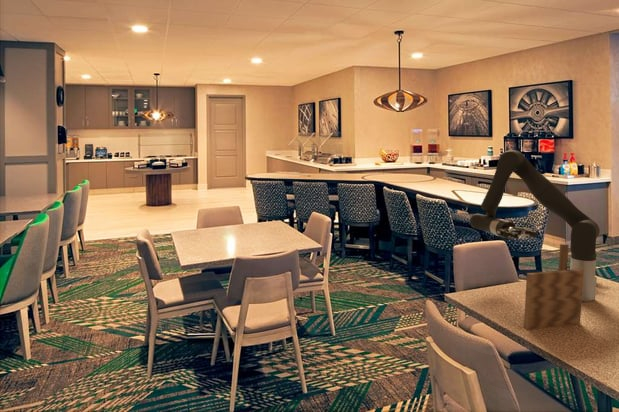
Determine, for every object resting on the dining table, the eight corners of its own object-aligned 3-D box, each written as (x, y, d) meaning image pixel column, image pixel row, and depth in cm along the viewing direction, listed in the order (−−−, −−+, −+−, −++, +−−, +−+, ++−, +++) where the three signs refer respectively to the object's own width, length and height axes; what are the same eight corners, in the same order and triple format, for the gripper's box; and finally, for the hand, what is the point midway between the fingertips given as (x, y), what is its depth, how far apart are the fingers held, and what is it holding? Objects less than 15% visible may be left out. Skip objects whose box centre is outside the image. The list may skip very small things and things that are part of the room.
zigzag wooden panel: (566, 316, 188) (569, 265, 185) (580, 323, 181) (583, 270, 179) (515, 322, 183) (517, 269, 180) (527, 329, 176) (530, 274, 174)
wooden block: (582, 285, 226) (585, 246, 224) (556, 282, 232) (559, 244, 229) (583, 283, 229) (586, 245, 227) (557, 280, 235) (560, 242, 232)
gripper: (488, 220, 214) (511, 227, 199) (517, 219, 218) (542, 225, 202) (487, 237, 216) (510, 245, 200) (516, 235, 219) (541, 243, 203)
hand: (526, 235), depth 201 cm, fingers open, 8 cm apart
